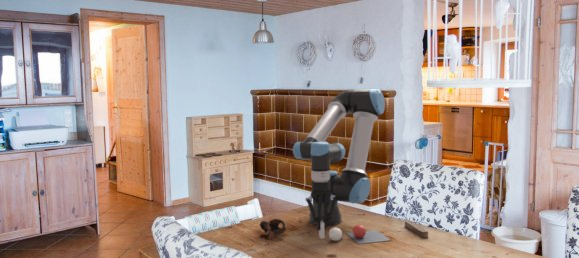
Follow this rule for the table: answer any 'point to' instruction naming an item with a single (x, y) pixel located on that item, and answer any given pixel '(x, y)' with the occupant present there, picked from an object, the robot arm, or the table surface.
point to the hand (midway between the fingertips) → (321, 237)
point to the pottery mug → (273, 227)
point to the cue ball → (335, 234)
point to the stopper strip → (416, 229)
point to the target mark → (369, 237)
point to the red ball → (359, 231)
